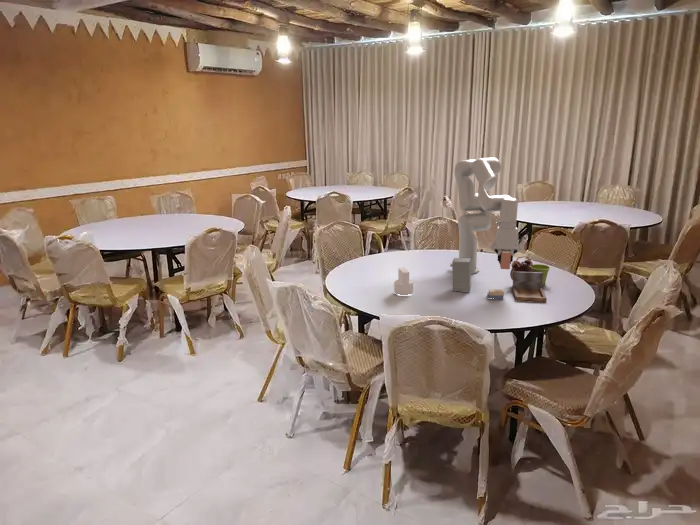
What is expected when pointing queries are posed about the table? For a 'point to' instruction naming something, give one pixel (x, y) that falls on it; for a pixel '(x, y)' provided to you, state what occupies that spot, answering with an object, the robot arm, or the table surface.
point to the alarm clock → (521, 266)
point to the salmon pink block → (505, 259)
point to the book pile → (495, 293)
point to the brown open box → (528, 286)
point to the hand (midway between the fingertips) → (504, 262)
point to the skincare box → (461, 274)
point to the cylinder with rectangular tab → (403, 283)
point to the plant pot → (541, 270)
